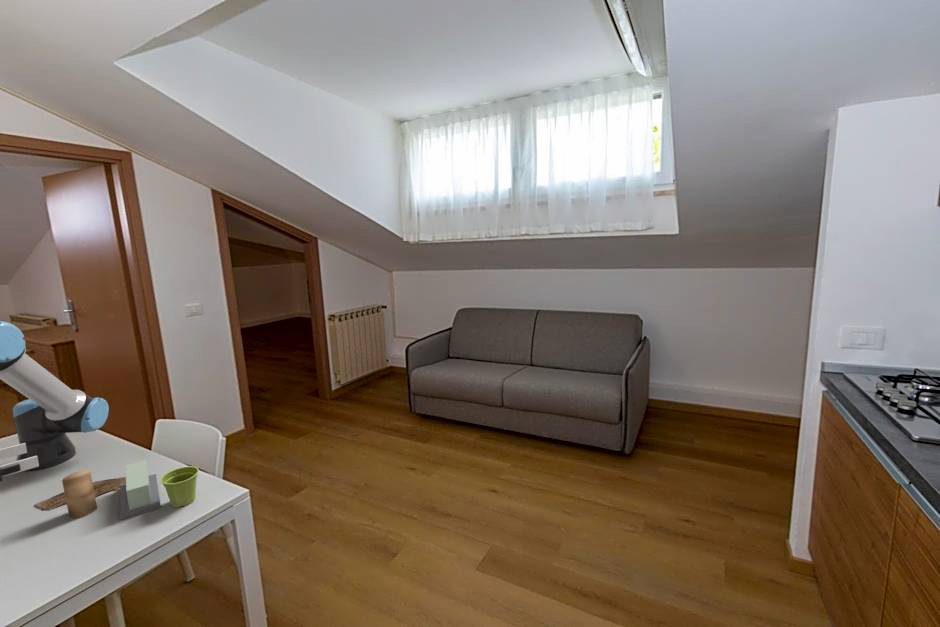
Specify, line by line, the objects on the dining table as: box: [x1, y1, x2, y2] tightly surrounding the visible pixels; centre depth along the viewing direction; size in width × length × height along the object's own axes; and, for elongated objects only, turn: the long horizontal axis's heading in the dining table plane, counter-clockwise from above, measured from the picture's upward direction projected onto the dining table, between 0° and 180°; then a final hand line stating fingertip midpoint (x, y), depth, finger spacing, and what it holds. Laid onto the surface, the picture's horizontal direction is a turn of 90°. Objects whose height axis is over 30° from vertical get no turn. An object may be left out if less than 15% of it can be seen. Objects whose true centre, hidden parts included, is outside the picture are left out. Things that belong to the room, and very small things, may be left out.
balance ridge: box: [119, 459, 162, 521], centre depth 129 cm, size 20×9×8 cm, turn 39°
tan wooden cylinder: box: [61, 470, 98, 519], centre depth 122 cm, size 6×6×11 cm
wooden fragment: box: [33, 476, 126, 511], centre depth 133 cm, size 26×11×1 cm, turn 128°
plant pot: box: [160, 465, 200, 508], centre depth 126 cm, size 9×9×9 cm
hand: (32, 454), depth 113 cm, fingers open, 13 cm apart
